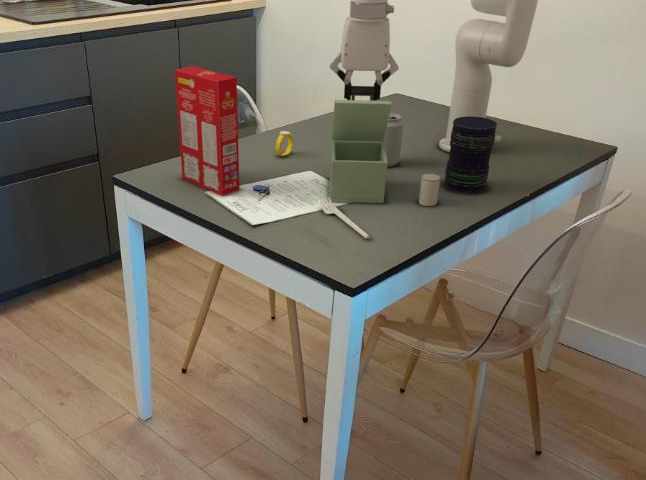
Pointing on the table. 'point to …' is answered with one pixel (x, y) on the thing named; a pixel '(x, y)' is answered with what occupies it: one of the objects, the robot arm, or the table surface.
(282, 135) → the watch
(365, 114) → the box lid
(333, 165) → the olive green lidded box
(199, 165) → the food packaging
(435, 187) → the off-white cylinder
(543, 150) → the table surface
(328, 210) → the fork
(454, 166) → the dark blue disc stack
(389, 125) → the can
